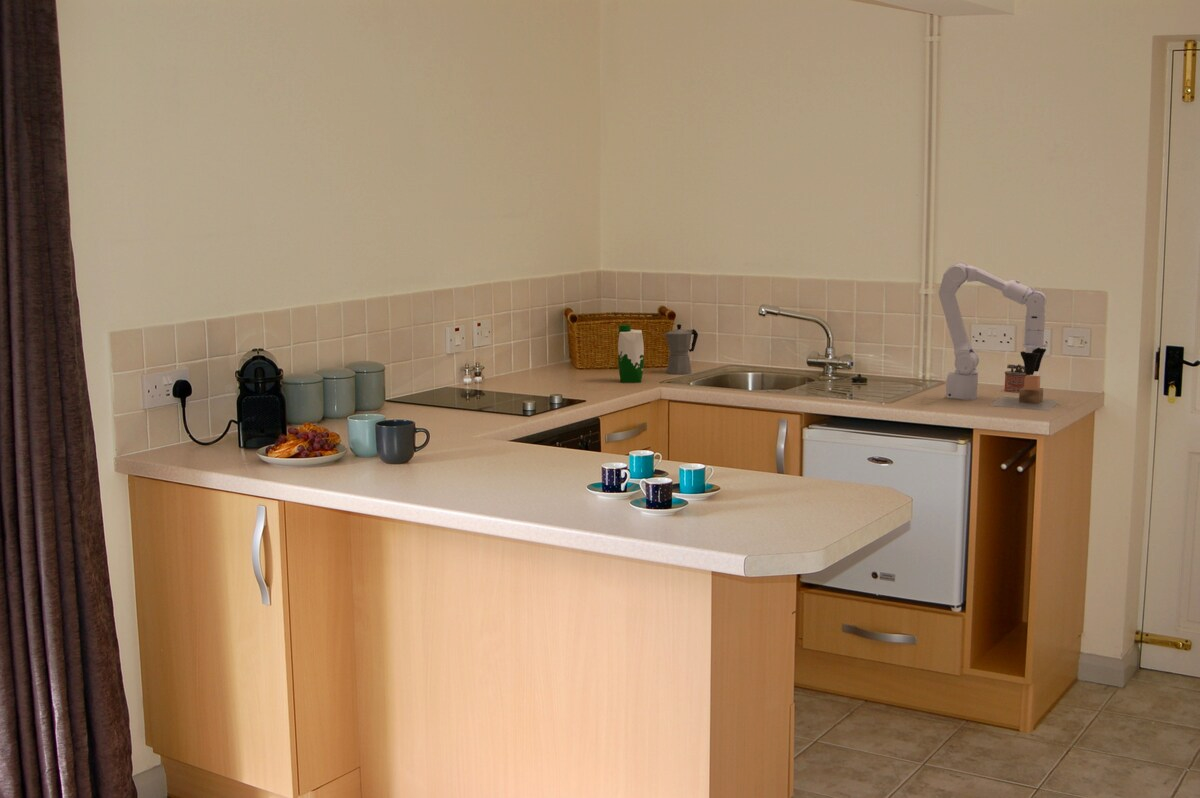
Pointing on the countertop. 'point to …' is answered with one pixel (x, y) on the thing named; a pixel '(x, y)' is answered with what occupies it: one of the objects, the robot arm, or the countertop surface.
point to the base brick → (1031, 396)
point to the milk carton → (630, 354)
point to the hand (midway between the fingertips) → (1032, 372)
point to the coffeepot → (680, 350)
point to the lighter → (1014, 378)
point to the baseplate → (1024, 404)
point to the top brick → (1032, 382)
